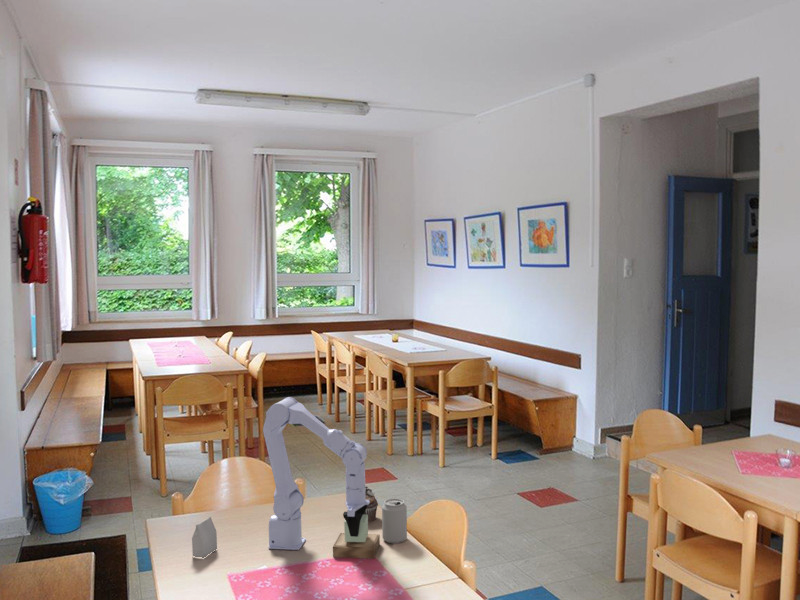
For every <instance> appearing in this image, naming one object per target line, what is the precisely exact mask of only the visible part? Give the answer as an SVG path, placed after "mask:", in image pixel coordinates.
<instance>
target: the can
mask: <svg viewBox="0 0 800 600" xmlns="http://www.w3.org/2000/svg"><path fill="white" fill-rule="evenodd" d="M383 503H384V504H382V506H381V518H382V519H381V524H382V526H381V527H382V528H381V530H382V535H381V536H382V539H383V540H384V541H385V542H386V543H388V544H400V543H402V542H403V543H404V541H405V540H406V539H408V527H407V526H408V519H407V518H408V517H407V516H408V515H407V504H405V500H404V499H401V498H387V499H385V500H384V501H383Z"/></svg>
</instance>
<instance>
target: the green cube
mask: <svg viewBox="0 0 800 600" xmlns="http://www.w3.org/2000/svg"><path fill="white" fill-rule="evenodd" d="M343 523H344V533H345V542H365V541H366V539H367V536H368V534H369V523H368V515H364V514H363V515H362V518H361V521H360V526H359V533H358V536H357V537H353V536H350V533H349V528H348V525H347V522H346V520H345V519H344V522H343Z"/></svg>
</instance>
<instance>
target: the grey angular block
mask: <svg viewBox="0 0 800 600" xmlns="http://www.w3.org/2000/svg"><path fill="white" fill-rule="evenodd" d="M217 540H218V537H217V529H216V527H215V525H214V523H213V519H212V516H208V517H207V518H205V519H204V520H202V521H201V522H199V523H197V524H196V525H195V530H194V531H193V534H192V537H191V545H192V548H191V549H192V550H191V552H192V557H193V556H195V557H202V558H204V557H206V556H207V555H208V554H210V553H211V552H213V551H214V550H216V549H217V550H218V541H217Z"/></svg>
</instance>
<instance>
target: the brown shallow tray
mask: <svg viewBox="0 0 800 600" xmlns="http://www.w3.org/2000/svg"><path fill="white" fill-rule="evenodd" d="M380 537H381V536H380V534H374V533H373V534H371V533H368V536H367V539H366V541H365V542H345V532H340V533H339V535H338V536H337V539H336V540H335V542H334V544H333V546H332V557H333V558H350V559H369V560H370V559H373V560H374V559H375V557H376V554H377V552H378V549H379V547H380V544H381V543H380V542H381V540H380Z"/></svg>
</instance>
